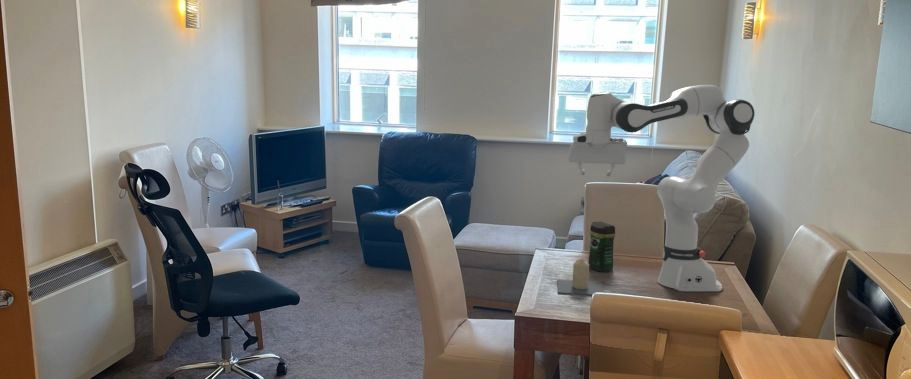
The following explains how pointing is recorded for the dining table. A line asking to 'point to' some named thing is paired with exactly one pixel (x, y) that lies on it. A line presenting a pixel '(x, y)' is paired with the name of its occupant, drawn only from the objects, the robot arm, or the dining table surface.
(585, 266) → the candle
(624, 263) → the dining table surface
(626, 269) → the dining table surface
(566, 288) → the placemat
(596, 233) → the coffee jar
